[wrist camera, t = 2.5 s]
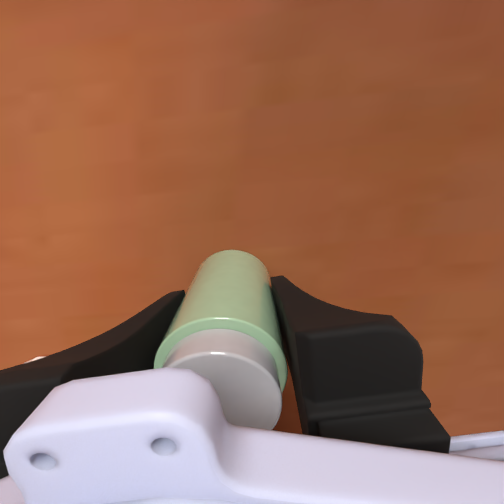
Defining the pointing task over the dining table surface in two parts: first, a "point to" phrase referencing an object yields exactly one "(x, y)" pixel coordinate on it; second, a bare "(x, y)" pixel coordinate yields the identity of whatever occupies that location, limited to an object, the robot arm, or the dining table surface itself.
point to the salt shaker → (231, 338)
